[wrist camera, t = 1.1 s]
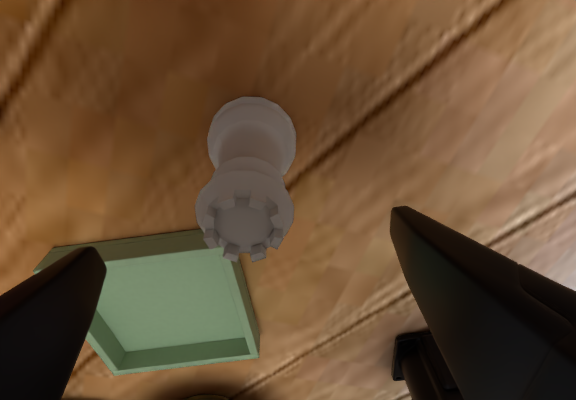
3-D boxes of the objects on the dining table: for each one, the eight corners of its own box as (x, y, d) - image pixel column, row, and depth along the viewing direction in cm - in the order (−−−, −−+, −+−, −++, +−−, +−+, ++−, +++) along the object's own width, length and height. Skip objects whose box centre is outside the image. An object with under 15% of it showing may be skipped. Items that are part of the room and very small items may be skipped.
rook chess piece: (194, 147, 16) (143, 248, 10) (238, 74, 15) (214, 134, 8) (265, 188, 18) (263, 300, 11) (313, 127, 16) (346, 215, 9)
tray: (260, 334, 25) (259, 358, 23) (124, 351, 25) (113, 375, 24) (230, 225, 19) (226, 246, 17) (52, 247, 19) (32, 271, 18)
